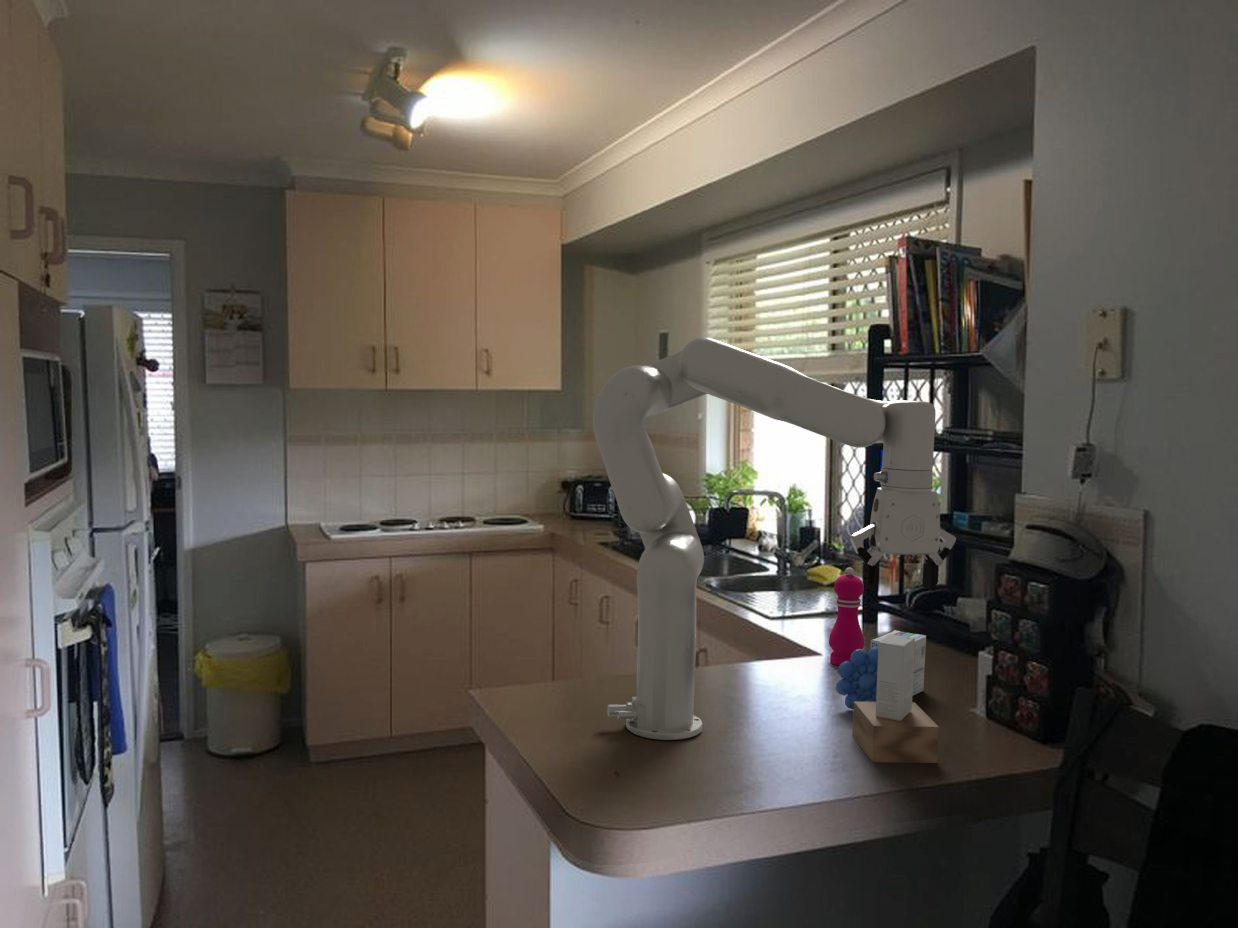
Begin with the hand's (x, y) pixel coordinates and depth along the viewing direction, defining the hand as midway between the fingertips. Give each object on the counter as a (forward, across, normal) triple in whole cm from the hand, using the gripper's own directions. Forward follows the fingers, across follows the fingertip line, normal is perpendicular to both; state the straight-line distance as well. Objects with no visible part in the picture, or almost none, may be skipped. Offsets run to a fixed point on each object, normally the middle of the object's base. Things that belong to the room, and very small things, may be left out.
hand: (900, 589), depth 162 cm
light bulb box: (+26, +14, +28) cm, 41 cm away
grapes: (+26, +4, +18) cm, 32 cm away
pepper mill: (+26, +13, +49) cm, 57 cm away
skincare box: (+20, 0, 0) cm, 20 cm away
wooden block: (+26, 0, 0) cm, 26 cm away
